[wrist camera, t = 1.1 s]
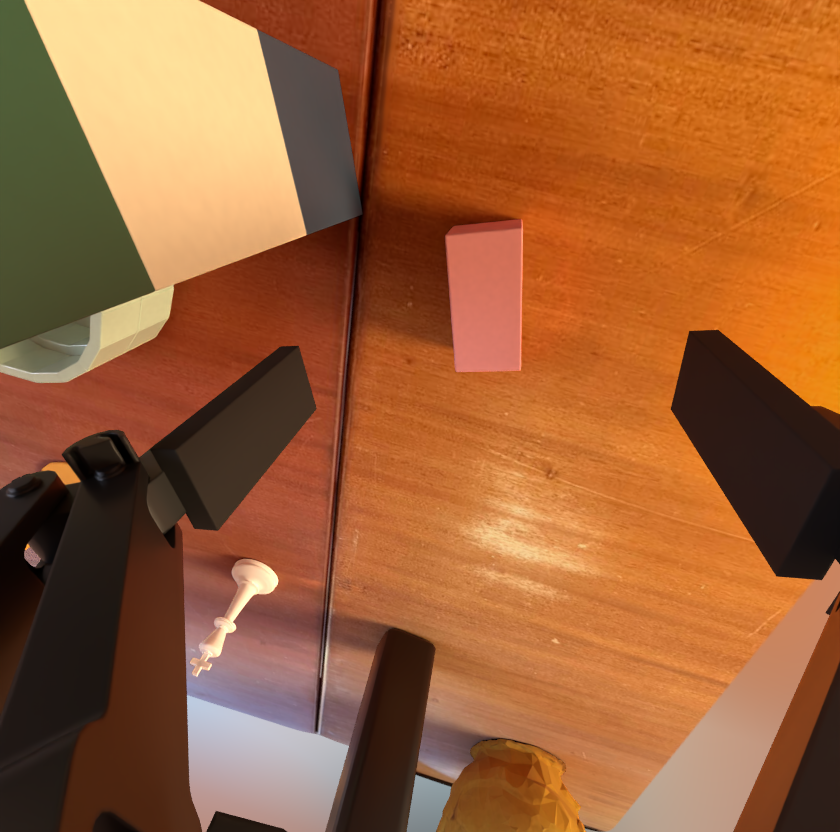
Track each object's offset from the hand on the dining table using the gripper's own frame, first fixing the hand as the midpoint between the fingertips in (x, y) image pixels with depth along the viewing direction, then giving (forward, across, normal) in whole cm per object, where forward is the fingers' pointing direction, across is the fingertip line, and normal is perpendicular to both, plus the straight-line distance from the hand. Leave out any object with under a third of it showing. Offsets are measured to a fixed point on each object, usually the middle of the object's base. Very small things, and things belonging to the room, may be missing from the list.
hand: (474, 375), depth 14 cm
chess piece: (+10, -25, -28) cm, 39 cm away
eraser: (+10, 0, 0) cm, 10 cm away
